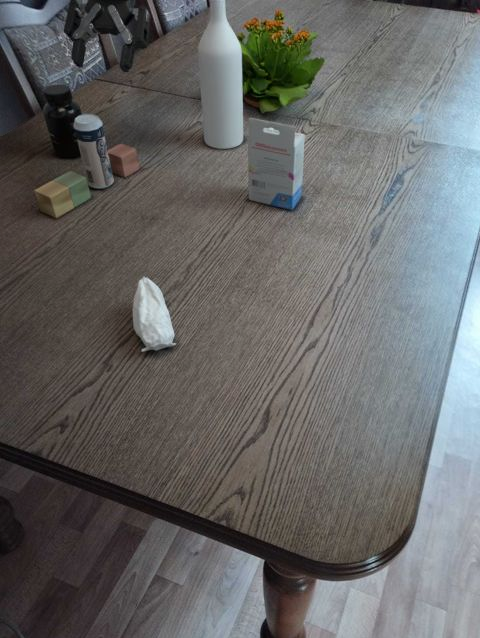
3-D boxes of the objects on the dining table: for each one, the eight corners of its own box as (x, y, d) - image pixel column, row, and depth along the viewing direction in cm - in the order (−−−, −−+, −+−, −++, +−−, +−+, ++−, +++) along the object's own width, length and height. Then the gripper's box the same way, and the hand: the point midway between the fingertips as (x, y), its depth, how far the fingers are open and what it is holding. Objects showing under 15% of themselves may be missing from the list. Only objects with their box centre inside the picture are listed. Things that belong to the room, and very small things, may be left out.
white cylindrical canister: (115, 188, 100) (102, 123, 91) (88, 192, 99) (72, 126, 90) (113, 175, 103) (100, 111, 94) (87, 179, 102) (71, 114, 93)
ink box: (302, 197, 98) (307, 114, 87) (292, 211, 95) (296, 127, 84) (259, 187, 100) (259, 105, 90) (247, 200, 97) (246, 117, 87)
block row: (40, 211, 94) (33, 190, 91) (124, 163, 106) (120, 143, 103) (56, 218, 93) (50, 197, 90) (139, 169, 105) (136, 149, 102)
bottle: (232, 152, 109) (226, -26, 88) (197, 144, 112) (182, -32, 90) (250, 135, 114) (248, -37, 93) (215, 128, 117) (206, -42, 95)
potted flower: (193, 111, 122) (186, 24, 110) (229, 74, 138) (226, -7, 125) (302, 127, 117) (308, 37, 105) (326, 86, 133) (334, 3, 120)
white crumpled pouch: (126, 322, 77) (141, 357, 69) (125, 277, 74) (140, 308, 66) (161, 318, 79) (179, 352, 71) (161, 274, 76) (180, 304, 68)
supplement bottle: (47, 155, 108) (29, 93, 99) (66, 140, 112) (50, 79, 104) (77, 161, 106) (62, 98, 98) (96, 146, 111) (82, 84, 102)
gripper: (66, -47, 90) (50, 52, 91) (147, -42, 88) (130, 60, 89) (88, -18, 98) (73, 74, 98) (163, -12, 95) (148, 82, 96)
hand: (100, 67), depth 93 cm, fingers open, 8 cm apart
